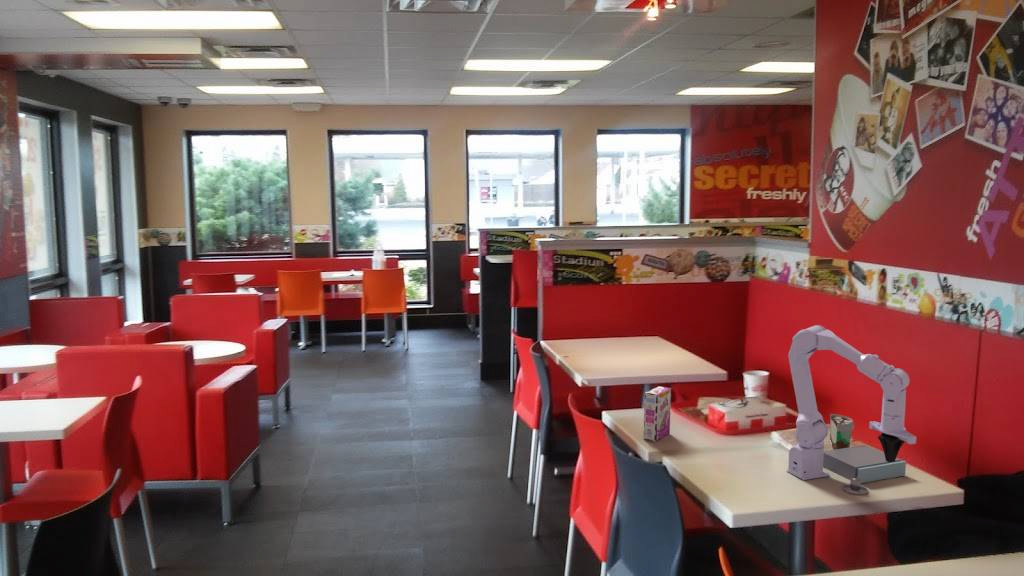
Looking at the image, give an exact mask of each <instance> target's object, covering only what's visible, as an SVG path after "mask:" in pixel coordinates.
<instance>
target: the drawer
mask: <svg viewBox="0 0 1024 576" xmlns="http://www.w3.org/2000/svg"><path fill="white" fill-rule="evenodd" d="M906 466H907V461H906V460H901V461H900V462H894V463H888V464H882V465H876V466H870V467H864V468H858V478H860V479H861V484H865V483H870V482H874V481H876V482H877V481H881V480H886V479H892V478H896V477H903V476H906V471H907V470H906V469H907V468H906Z"/></svg>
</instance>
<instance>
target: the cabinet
mask: <svg viewBox="0 0 1024 576" xmlns="http://www.w3.org/2000/svg"><path fill="white" fill-rule="evenodd" d="M900 461H902V459H901V458H898V457H896V460H895V462H900ZM888 463H894V462H888V461H886V459H885V454H884V451H881V450H879V449H876V448H874V447H872V446H869V445H867V444H862V445H856V446H850V447H849V448H842V449H836V450H833V449H831V450H826V451H825V450H824V459H823V468H825V469H827V470H829V471H831V472H833V473H836V474H837V475H839V476H842V477H844V478H846V479H848V480H850V481H851V477H858V468H864V467H870V466H876V465H882V464H888Z"/></svg>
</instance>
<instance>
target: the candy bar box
mask: <svg viewBox="0 0 1024 576" xmlns="http://www.w3.org/2000/svg"><path fill="white" fill-rule="evenodd" d="M671 400H672V387H666V386H657V387H655V388H652V389H650V390H648V391H645V392H644V406H643V407H644V410H643V412H644V413H643V438H642V439H643V440H644V439H647V440H646V441H649V440H652V441H651V442H653V441H656V442H658V441H659V440H662V439H663V438H664V437H666V436H668V435H669V434H670V433H671V432H670V430H671V406H672V405H671V402H672V401H671Z"/></svg>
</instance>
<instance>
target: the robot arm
mask: <svg viewBox="0 0 1024 576" xmlns="http://www.w3.org/2000/svg"><path fill="white" fill-rule="evenodd" d="M791 339H792V342H791V345H790V349H789V352H788V363H789V367H790V368H789V369H790V373H791V378H792V384H793V388H794V395H795V399H796V400H795V401H796V405H797V410H798V411H797V412H798V416H797V418H796V422H795V426H796V429H795V433H794V437H795V440H796V442H797V445H796V444H795V446H792V447H790V449H789V451H788V468H787V469H786V472H787V473H789V474H791V475H794V476H796V477H797V478H799V479H801V480H805V481H806V480H807V481H808V480H812V479H817V478H819V479H820V478H823V477H830V473H828V472H826V471H824V467H823V459H824V451H825V442H824V440H825V439H826V438H827V436H828V434H829V429H828V426H827V424H826V423H825V421H824V417H823V414H822V413H820V412H819V411H818V405H817V401H816V400H817V399H816V394H815V389H814V383H813V378H812V372H811V368H810V367H811V366H810V362H809V359H810V358H811V356H812V355H813V354H814V353H815V351H816V350H817V351H832V352H834V353H835V354H837V355H838V356H840V357H842V358H845V359H846V360H848V361H850V362H851V363H853V364H855V365H856V368H857V370H858V371H859V373H862V374H863V375H865V377H866V376H867V377H868V378H869V379H871V380H872V381H874V382H876V383H877V384H880V388H881V389H882V390H883V391H882V392H883V393H882V400H881V401H882V402H881V403H882V404H881V418H880V419H881V420H880V422H878V421H869V427H868V428H869V429H870V430H875V431H878V432H879V433H881V434H879V435H878V436H877V438H878V440H879V442H880V444H881V446H882V450H883V452H884V454H885V459H886V461H888V462H895V460H896V458H898V457H897V456H898V454H899V451H900V449H901V448H902V446H903V444H904V443H907V444H908V445H915V444H917V436H915V435H913V434H912V433H910V432H909V431H907V429H906V428H907V427H905V416H906V404H907V403H906V400H907V399H906V398H907V397H906V396H907V389H906V388H907V387H908V386H909V385H910V382H911V380H910V376H909V374H908V373H907V372H906V371H905V370H904V369H902V368H898V367H897V368H895V366H894V365H892V364H890V365H889V364H888V363H886V362H885V361H883V360H882V359H880V356H879V355H878V354H871V353H867V354H864V353H862V352H860V351H859V350H857V348H855V347H853V346H852V345H851V344H849V343H847V342H846V341H845V340H843V339H842V338H840V336H837V335H836V334H835V333H834V332H833V331H831V330H830V329H826V328H825V327H824V326H822V325H818V324H816V325H812V326H810V327H808V328H805V329H804V328H803V329H800V330H799V331H798V332H796V333H795V335H794V336H793V337H792V338H791Z"/></svg>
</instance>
